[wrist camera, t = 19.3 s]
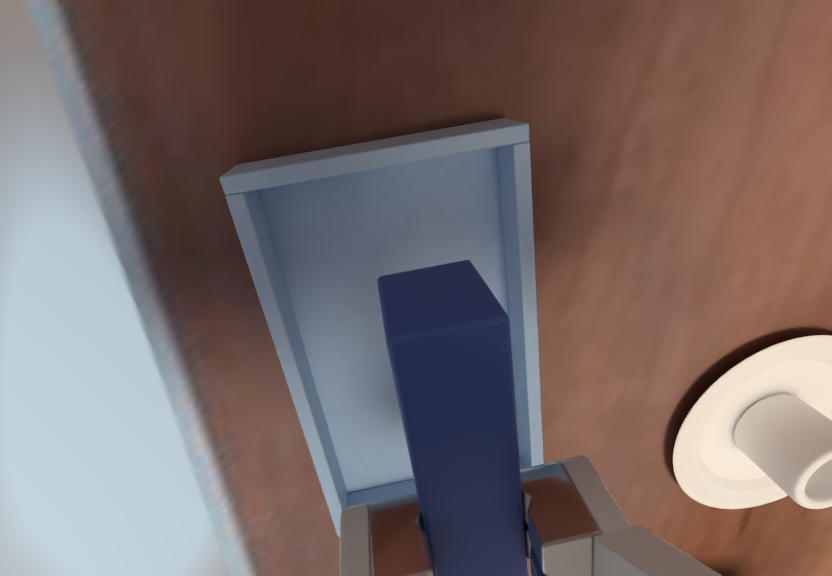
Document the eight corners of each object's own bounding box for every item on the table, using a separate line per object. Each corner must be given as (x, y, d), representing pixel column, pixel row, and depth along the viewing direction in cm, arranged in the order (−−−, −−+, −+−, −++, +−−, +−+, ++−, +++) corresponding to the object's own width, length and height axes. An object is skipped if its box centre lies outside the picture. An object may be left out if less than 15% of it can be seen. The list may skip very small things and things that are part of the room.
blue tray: (235, 164, 17) (218, 177, 15) (506, 117, 17) (529, 122, 15) (338, 495, 24) (337, 538, 22) (527, 454, 25) (545, 492, 22)
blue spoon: (316, 286, 8) (306, 355, 6) (526, 246, 9) (586, 300, 7) (417, 668, 14) (430, 777, 12) (545, 637, 14) (581, 738, 12)
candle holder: (902, 393, 27) (997, 446, 23) (740, 523, 30) (799, 590, 26) (798, 286, 22) (893, 329, 19) (622, 450, 26) (672, 517, 22)
